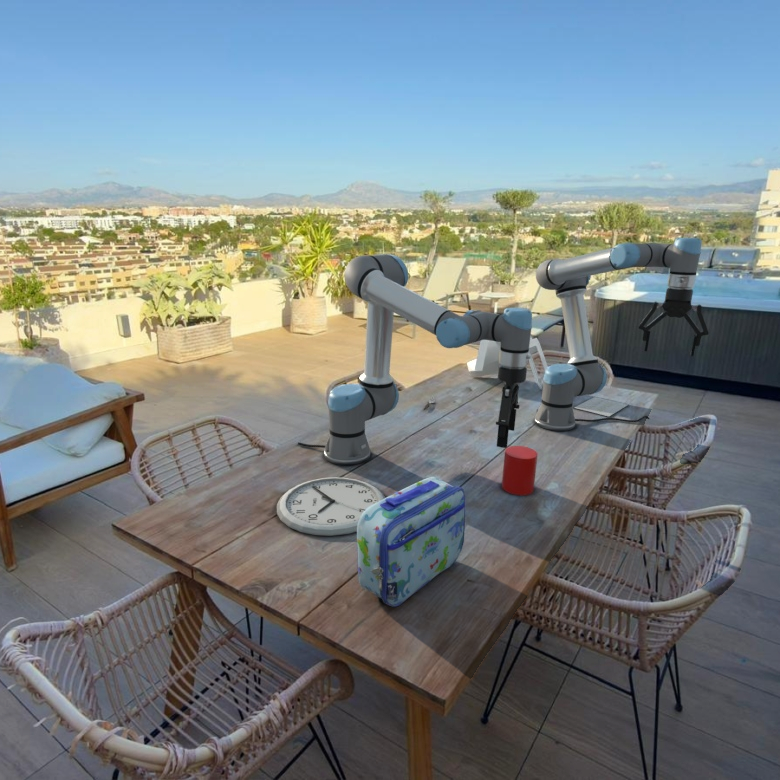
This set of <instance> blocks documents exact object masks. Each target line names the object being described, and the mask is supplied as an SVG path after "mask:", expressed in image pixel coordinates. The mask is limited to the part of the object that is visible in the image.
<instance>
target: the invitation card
mask: <svg viewBox="0 0 780 780" xmlns="http://www.w3.org/2000/svg"><path fill="white" fill-rule="evenodd" d="M628 406H629V404H627V403H623V402H618V401H614V400H609V399H605V398H601V397H596V396H593V397H592V398H590V399H588V400H586V401H584V402H582V403H580V404H578V405H575V406H574V407H573V409H575V410H581V411H584V412H587V413H593V414H596V415H600V416H604V417H607V418H610V417H611V416H613V415H614V414H616V413H617V412H619V411H621V410H623V409H624V408H626V407H628Z"/></svg>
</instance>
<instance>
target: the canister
mask: <svg viewBox="0 0 780 780" xmlns="http://www.w3.org/2000/svg"><path fill="white" fill-rule="evenodd" d="M537 462H538V452H537V451H536V450H535V449H533V448H531V447H528V446H522V445H512V446H511V445H510V446H507V448H504V457H503V468H502V480H501V488H502V490H504V492H506V493H508V494H511V495H513V496H529V495H531V494H532V493H533V492H534V489H535V482H536V481H535V480H536V472H537Z"/></svg>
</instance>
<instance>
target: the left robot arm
mask: <svg viewBox="0 0 780 780" xmlns="http://www.w3.org/2000/svg"><path fill="white" fill-rule="evenodd" d="M343 277H344V282H345V285H346V287H347V288H348V290H349V291H350V292H351V293H352V294H354V295H355V296H356V297H357V298H359V299H361V300H363V301H365V302H367V312H366V331H365V349H364V364H363V366H364V367H363V368H364V370H363V373H361V374H360V376H359V377H358V383H347V384H345V383H343V384H341V385H340V384H339V385H337V386H335V387H334V388H332V389H331V390H330V392H329V395H328V402H327V405H328V425H329V426H328V428H329V429H328V431H329V432H328V433H329V435H328V437H327V440H326V443H325V445H324V444H307V443H303V442H297V445H299V446H303V447H307V448H321V449H322V448H323V449H324V450H323V451H324V452H323V456H324V459H325V460H326V461H327V462H329V463H331V464H335V465H339V466H351V465H358V464H361V463H364V462H367V461H368V460H369V459H370V457H371V447H370V444H369V441H368V439H367V436H366V422H367V421H371V420H372V419H375V418H377V417H380V416H384V415H387V414H388V413H389V412H392V411H393V410H394V409H395V408H396V406H397V405H398V403H399V399H400V393H399V392H400V391H399V388H397V384H396V383H395V382H394V377H393V376H392V375H391V374H390V373H391V372H390V371H391V358H392V343H393V342H392V341H393V328H394V317H395V316H394V315H395V314H396V315H398V316H399V317H402V318H403V319H405V320H407V321H408V322H410V323H412V324H414V325H416V326H418V327H419V328H422V329H423V330H425V331H427V332H429V333H431V334H433V335H434V336H435V337H436V340H437V342H438V343H439V344H440V345H441V346H442V347H443V348H446V349H458V348H461V347H463V346H467V345H470V344H473V343H476V342H480V341H481V340H490V341H496V342H501V348H500V356H499V364H500V366H499V370H498V374H497V379H498V380H499V381H501V382H503V383H504V384H503V386H502V390H501V391H502V392H501V402H500V407H499V414H498V420H497V421H495V425H496V426H498V427H497V437H496V448H503V449H506V448H508V440H509V431H512V432H514V431H515V429H516V428H515V427H516V418H517V409H518V410H519V409H520V404H519V390H520V385H519V384H521V383H524V382H525V381H526V380H527V371H528V368H527V366H528V363H529V360H528V359H530V355H528V352H529V343H530V336H531V337H532V334H531V333H532V329H533V313H532V311H531V310H530V309H527V308H524V307H523V308H522V307H520V308H518V307H506V308H504V310H503V313H501V314H500V313H494V312H488V311H482V310H473V309H472V310H471V309H470V310H469V309H468V310H467V311H466V312H465V313H464V314H462V315H460V314H457V313H455V312H454V311H451V310H449V309H447V308H445V307H444V306H441V305H440V304H438V303H437V302H434V301H432V300H430V299H428V298H427V297H424V296H422V295H420V294H418V293H417V292H414V291H412V290H410V289H409V288H407V287H406V286H407V284H408V282H409V270H408V267H407V264H406V263H405V262H404V261H403V260H402V258H400V257H399V256H397V255H395V254H388V253H382V254H367V255H364V254H363V255H358V256H356V257H354V258H352V259H351V260H350V261H349V262H348V263H347V265H346V266H345V270H344V276H343Z"/></svg>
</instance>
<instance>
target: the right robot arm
mask: <svg viewBox="0 0 780 780" xmlns="http://www.w3.org/2000/svg"><path fill="white" fill-rule="evenodd" d="M702 244H703V241H702V239H701V238H700V237H676V238H675V240H674V242H673V243H661V242H643V243H642V242H641V243H639V242H623V243H619V244H616V245H615V246H614V247H610V248H606V249H602V250H598V251H593V252H589V253H586V254H581V255H578V256H573V257H570V258H563V259H562V258H554V259H547V260H545V261H542V262H541V263H540V264H539V266H537V268H536V271H535V279H536V283H537V284H538V285H539V287H541V288H542V289H545V290H548V291H554V292H555V297H556V298H558V300H560V303H561V310H562V316H563V321H564V323H563V324H564V328H565V335H566V341H567V348H568V354H569V360H568V361H567V363H554V364H551V365H549V366H548V367H547V368H546V370H544V375H543V378H542V379H543V381H542V382H543V383H542V390H541V391H542V394H541V402H540V405H539V407H538V409H536V413H535V416H534V424H535V425H536V426H537V427H539V428H542V429H544V430H549V431H556V432H567V431H572V430H574V429H575V428H576V422H588V423H594V422H601V421H619V422H625V423H639V422H641V421H642V420H644V419H647V420H650V417H649V416H648V415H643V416H641V417H640V418H638V419H624V418H619V417H618V418H617V417H616V418H615V417H603V418H597V419H587V418H586V419H585V418H584V419H583V418H575V417H576V416H575V413H574V407H573V405H574V398H576V397H582V396H589V395H593V394H597V393H599V392H601V391H602V390H603V389H604V387H605V386H606V384H607V381H608V373H607V370H606V368H605V367H603V366H604V365H602V364H599V359H598V358H597V357H596V356H595V355H594V354H593V346H592V341H591V340H592V339H591V335H590V334H591V333H590V329H589V328H590V327H589V323H588V322H589V321H588V317H587V316H588V314H587V309H586V303H585V296H584V295H585V293H586V292H587V291H588V290H587V286H588V285H589V283H590V281H591V278H592V276H596V275H599V274H605V273H610V272H616V271H621V270H625V269H631V268H633V269H634V268H667V269H669V273H668V279H667V288H666V291H665V296H664V301H663V302H658V301H657V300H656V301H654V302H653V305H652V307H651V309H650V310H649V311H648V313H647V314H646V315H645V317H644V318H643V319H642V321H641V322H640V324H639V325H638V329H639V330H642V331H643V335H642V341H643V342H645V346H644V352H648V349H649V348H648V347H649V341H650V335H651V329H653V327H655V326H656V325H657V324H658V323H660V321H662V320H663V319H664V318H666V317H667V316H668V317H669V318H678V319H681V318H684V319H685V320H686V322H687V323H688V324H689V326H690V327H691V328H692V330H693V331H694V333H695V334H693V339H692V344H691V349H690V353H689V354H690V357H694V355H695V350H696V347H699V346H700V344H701V340H702V337H703V336H708V335H709V329H708V327H707V324H706V321H705V319H704V316H703V313H702V304H700V303H698V304H692V301H693V293H694V290H693V288H694V287H695V283H696V278H697V271H698V266H699V261H700V257H701V255H702ZM660 308H662V309H663V312H661V314H659V315H658V316H656V317H655V318H654V319H653V320H652V321H651V322H650V323H648V321H649V320H650V319H651V318H652V316H653V315H654V314H655V312H656V311H657V310H659V309H660ZM691 310H693V311H694V312H695V313H696V316H697V317H698V320H699V324H700V326H701V328H702V330H700V329H699V327H698V326H697V325H696V323H695V322H694V320H693V319H692V318H691V316H690V315H689V312H690V311H691ZM647 323H648V324H647ZM646 324H647V325H646Z"/></svg>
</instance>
